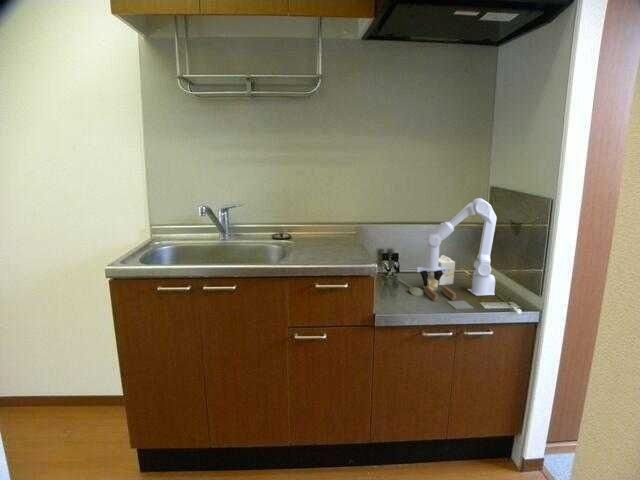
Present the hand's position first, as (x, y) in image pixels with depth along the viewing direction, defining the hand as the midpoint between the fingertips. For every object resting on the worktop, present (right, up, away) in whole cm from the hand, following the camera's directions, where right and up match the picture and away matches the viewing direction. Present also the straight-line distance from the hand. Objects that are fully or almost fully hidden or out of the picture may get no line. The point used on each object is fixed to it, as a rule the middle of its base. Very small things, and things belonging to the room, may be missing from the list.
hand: (430, 285), depth 189 cm
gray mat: (+7, -6, -20) cm, 22 cm away
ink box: (+9, 0, +10) cm, 14 cm away
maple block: (0, -2, 0) cm, 2 cm away
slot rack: (+1, -4, -10) cm, 11 cm away
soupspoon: (-10, -2, +1) cm, 10 cm away
